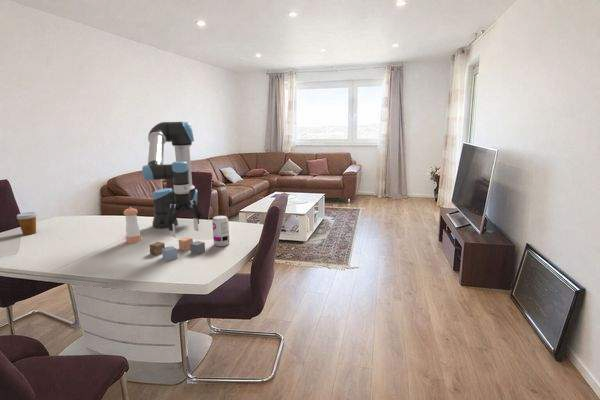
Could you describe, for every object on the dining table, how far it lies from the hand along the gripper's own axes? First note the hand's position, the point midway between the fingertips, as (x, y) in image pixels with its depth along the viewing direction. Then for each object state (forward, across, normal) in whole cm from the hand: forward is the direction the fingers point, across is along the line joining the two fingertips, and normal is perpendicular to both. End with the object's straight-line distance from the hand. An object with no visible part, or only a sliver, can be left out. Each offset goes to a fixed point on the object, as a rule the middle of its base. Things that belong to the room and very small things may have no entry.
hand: (185, 233), depth 180 cm
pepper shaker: (+8, -11, +33) cm, 36 cm away
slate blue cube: (+8, -13, -6) cm, 16 cm away
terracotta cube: (+8, 0, 0) cm, 8 cm away
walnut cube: (+8, -13, +5) cm, 16 cm away
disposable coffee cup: (+8, -42, +97) cm, 106 cm away
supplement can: (+8, +15, -10) cm, 20 cm away
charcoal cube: (+8, 0, -10) cm, 13 cm away
